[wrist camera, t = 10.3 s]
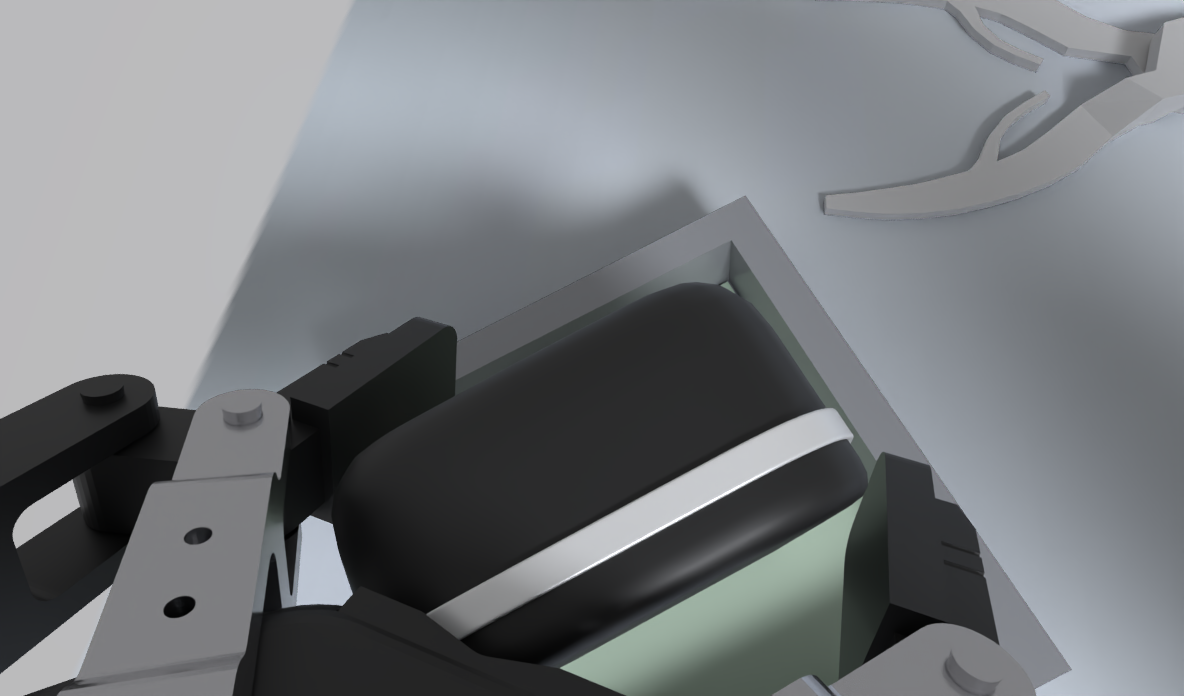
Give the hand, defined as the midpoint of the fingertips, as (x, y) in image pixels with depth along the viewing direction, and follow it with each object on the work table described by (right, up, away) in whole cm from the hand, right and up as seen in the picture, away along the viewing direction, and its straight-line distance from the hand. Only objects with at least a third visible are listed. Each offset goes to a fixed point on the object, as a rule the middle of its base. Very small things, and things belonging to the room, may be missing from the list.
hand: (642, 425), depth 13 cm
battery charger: (0, -4, +6) cm, 7 cm away
